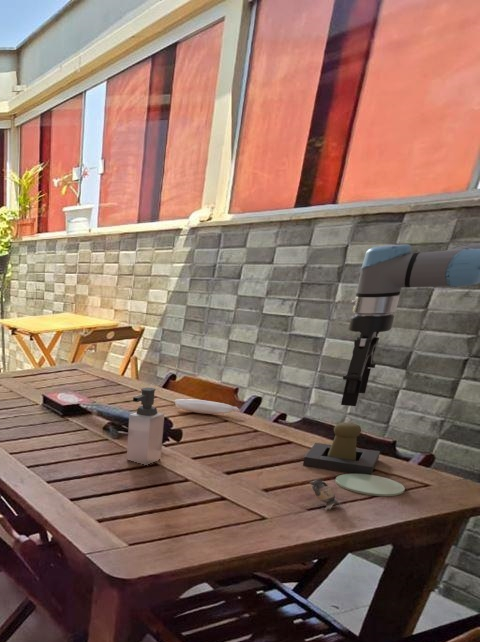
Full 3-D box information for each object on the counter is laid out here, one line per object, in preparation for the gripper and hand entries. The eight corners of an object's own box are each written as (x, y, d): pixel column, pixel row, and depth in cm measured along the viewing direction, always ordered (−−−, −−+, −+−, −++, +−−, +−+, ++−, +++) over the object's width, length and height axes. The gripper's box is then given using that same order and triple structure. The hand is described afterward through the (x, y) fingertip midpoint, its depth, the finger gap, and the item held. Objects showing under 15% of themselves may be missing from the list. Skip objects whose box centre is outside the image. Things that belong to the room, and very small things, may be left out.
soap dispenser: (121, 462, 148) (125, 391, 140) (140, 454, 151) (145, 385, 144) (141, 468, 142) (146, 394, 135) (160, 460, 146) (166, 388, 138)
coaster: (407, 482, 118) (407, 480, 117) (400, 500, 110) (401, 498, 110) (340, 472, 126) (340, 469, 126) (330, 488, 119) (331, 485, 119)
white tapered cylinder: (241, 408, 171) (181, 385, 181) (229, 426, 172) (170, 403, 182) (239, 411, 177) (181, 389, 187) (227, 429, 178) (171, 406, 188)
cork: (323, 464, 132) (331, 425, 128) (327, 457, 135) (335, 419, 132) (353, 468, 127) (362, 428, 124) (357, 461, 131) (366, 422, 127)
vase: (299, 502, 115) (303, 479, 113) (317, 497, 116) (322, 474, 114) (323, 511, 110) (329, 487, 108) (343, 507, 111) (348, 483, 109)
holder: (378, 459, 130) (380, 451, 129) (370, 476, 122) (372, 467, 122) (313, 450, 140) (315, 442, 139) (302, 465, 132) (304, 456, 131)
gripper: (360, 307, 128) (342, 386, 135) (342, 321, 114) (323, 409, 121) (401, 306, 123) (380, 389, 130) (387, 321, 108) (365, 413, 115)
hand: (353, 398), depth 125 cm, fingers open, 13 cm apart
